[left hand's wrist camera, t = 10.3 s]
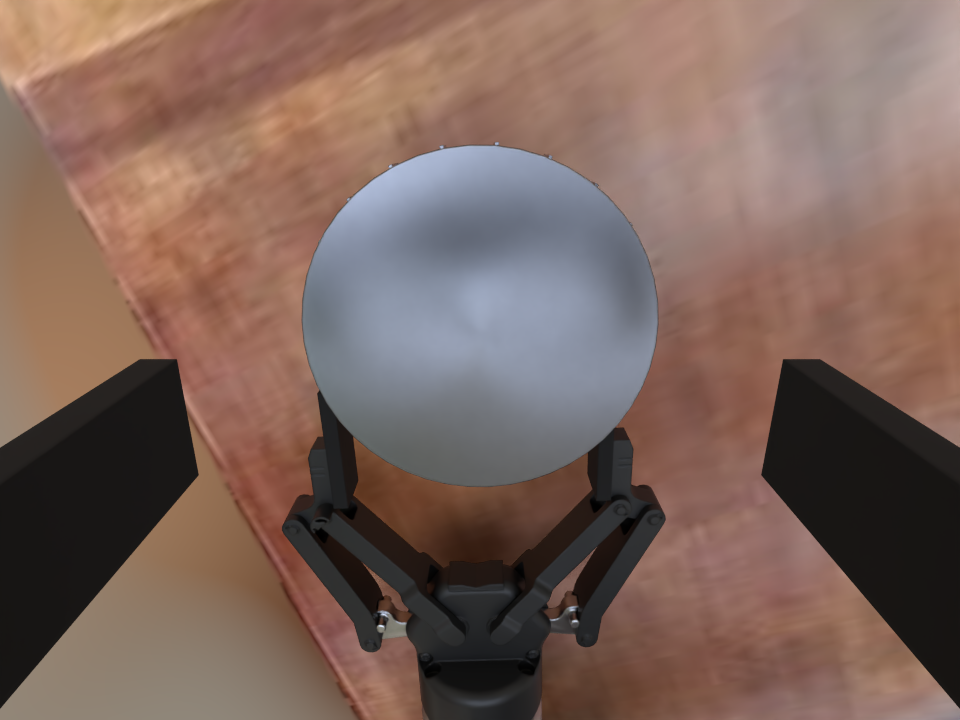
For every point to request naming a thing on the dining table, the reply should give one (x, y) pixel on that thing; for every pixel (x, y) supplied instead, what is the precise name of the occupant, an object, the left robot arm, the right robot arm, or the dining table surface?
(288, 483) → the dining table surface
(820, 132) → the dining table surface
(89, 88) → the dining table surface
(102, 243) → the dining table surface
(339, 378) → the lid
